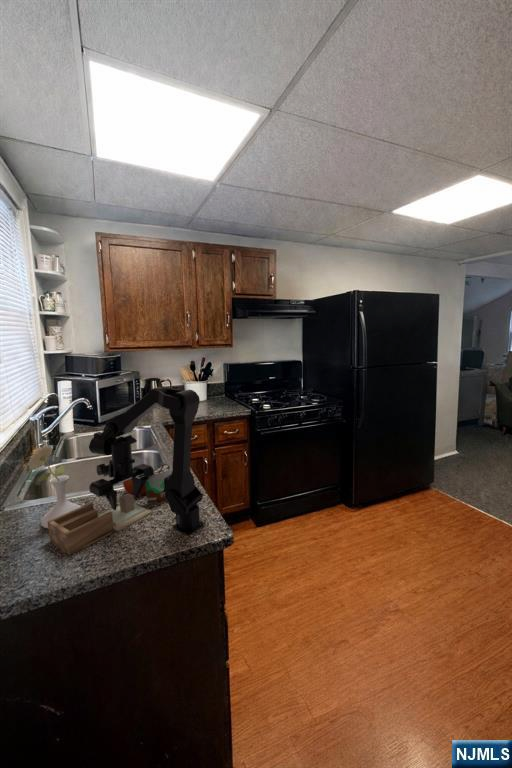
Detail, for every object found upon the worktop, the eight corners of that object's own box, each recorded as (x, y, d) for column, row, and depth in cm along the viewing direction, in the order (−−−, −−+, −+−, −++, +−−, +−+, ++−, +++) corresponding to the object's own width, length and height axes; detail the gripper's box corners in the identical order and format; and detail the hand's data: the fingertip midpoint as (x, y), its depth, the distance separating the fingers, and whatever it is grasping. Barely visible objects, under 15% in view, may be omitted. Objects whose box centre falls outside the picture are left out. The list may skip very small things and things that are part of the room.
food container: (161, 506, 103) (160, 476, 102) (144, 504, 105) (143, 475, 104) (179, 490, 115) (178, 463, 114) (164, 488, 117) (163, 462, 116)
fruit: (140, 484, 121) (138, 459, 120) (157, 489, 116) (155, 463, 115) (118, 495, 113) (115, 468, 111) (135, 501, 108) (133, 473, 107)
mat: (152, 512, 100) (152, 511, 100) (117, 531, 90) (117, 530, 90) (127, 502, 107) (127, 501, 107) (93, 518, 97) (92, 517, 97)
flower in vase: (72, 508, 104) (64, 434, 101) (93, 517, 98) (85, 439, 95) (27, 529, 93) (17, 446, 90) (48, 540, 87) (37, 452, 84)
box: (113, 531, 90) (112, 512, 89) (69, 555, 80) (67, 534, 80) (93, 520, 96) (91, 502, 96) (49, 541, 86) (47, 521, 86)
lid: (145, 510, 100) (144, 494, 100) (116, 526, 92) (114, 509, 91) (129, 504, 105) (128, 488, 104) (100, 518, 97) (99, 501, 96)
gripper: (132, 444, 110) (135, 487, 111) (77, 461, 94) (81, 510, 96) (153, 449, 103) (156, 495, 105) (98, 468, 88) (102, 521, 90)
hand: (125, 504), depth 99 cm, fingers open, 7 cm apart
